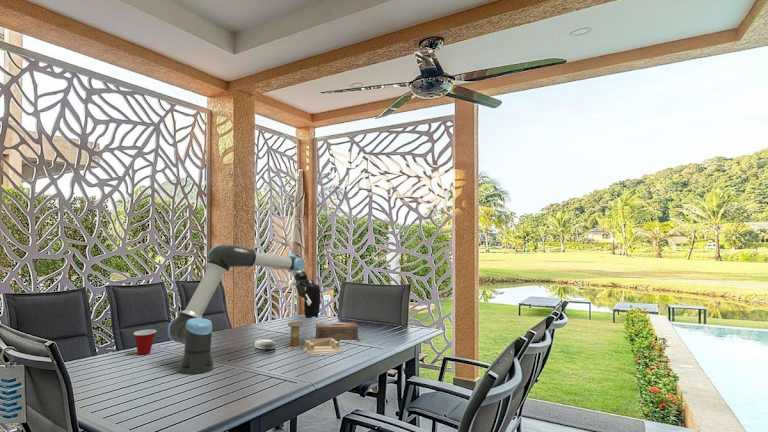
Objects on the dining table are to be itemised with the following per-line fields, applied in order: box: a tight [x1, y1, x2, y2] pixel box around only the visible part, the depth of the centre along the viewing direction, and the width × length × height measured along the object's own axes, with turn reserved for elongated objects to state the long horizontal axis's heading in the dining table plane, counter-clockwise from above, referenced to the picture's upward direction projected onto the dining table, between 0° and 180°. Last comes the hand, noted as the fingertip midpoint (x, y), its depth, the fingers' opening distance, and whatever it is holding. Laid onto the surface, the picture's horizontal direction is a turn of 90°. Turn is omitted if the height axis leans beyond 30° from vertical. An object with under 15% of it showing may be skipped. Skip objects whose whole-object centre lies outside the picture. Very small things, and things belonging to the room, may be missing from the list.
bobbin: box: [286, 321, 304, 350], centre depth 247 cm, size 8×8×14 cm
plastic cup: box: [133, 328, 157, 356], centre depth 224 cm, size 11×11×12 cm
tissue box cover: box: [315, 321, 359, 341], centre depth 272 cm, size 26×14×10 cm, turn 105°
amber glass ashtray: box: [301, 338, 344, 355], centre depth 240 cm, size 18×19×6 cm
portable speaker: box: [303, 283, 321, 319], centre depth 252 cm, size 9×9×20 cm
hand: (315, 303), depth 249 cm, fingers closed on portable speaker, 9 cm apart
